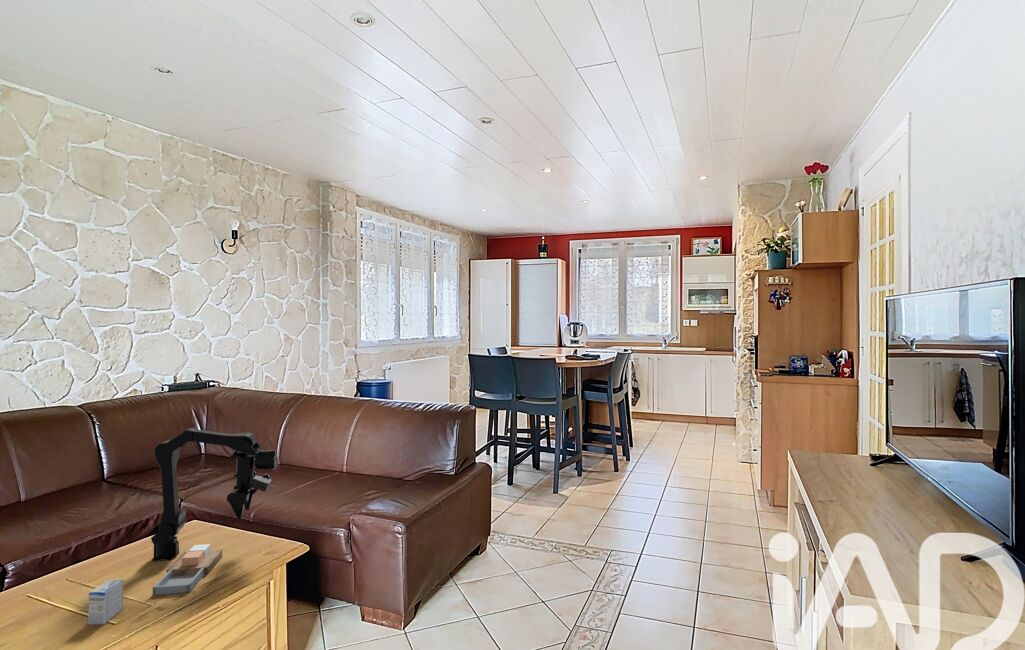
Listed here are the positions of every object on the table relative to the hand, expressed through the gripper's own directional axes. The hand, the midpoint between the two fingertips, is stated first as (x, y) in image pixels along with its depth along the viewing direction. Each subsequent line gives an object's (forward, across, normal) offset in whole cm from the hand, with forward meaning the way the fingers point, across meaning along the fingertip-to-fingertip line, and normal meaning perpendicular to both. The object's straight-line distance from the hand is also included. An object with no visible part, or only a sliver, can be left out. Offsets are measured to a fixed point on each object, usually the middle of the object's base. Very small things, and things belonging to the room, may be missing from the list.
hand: (243, 514), depth 196 cm
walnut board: (+14, -10, +12) cm, 21 cm away
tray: (+14, -23, +12) cm, 29 cm away
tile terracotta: (+11, -12, +12) cm, 20 cm away
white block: (+11, -7, +12) cm, 17 cm away
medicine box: (+14, -40, +24) cm, 49 cm away
